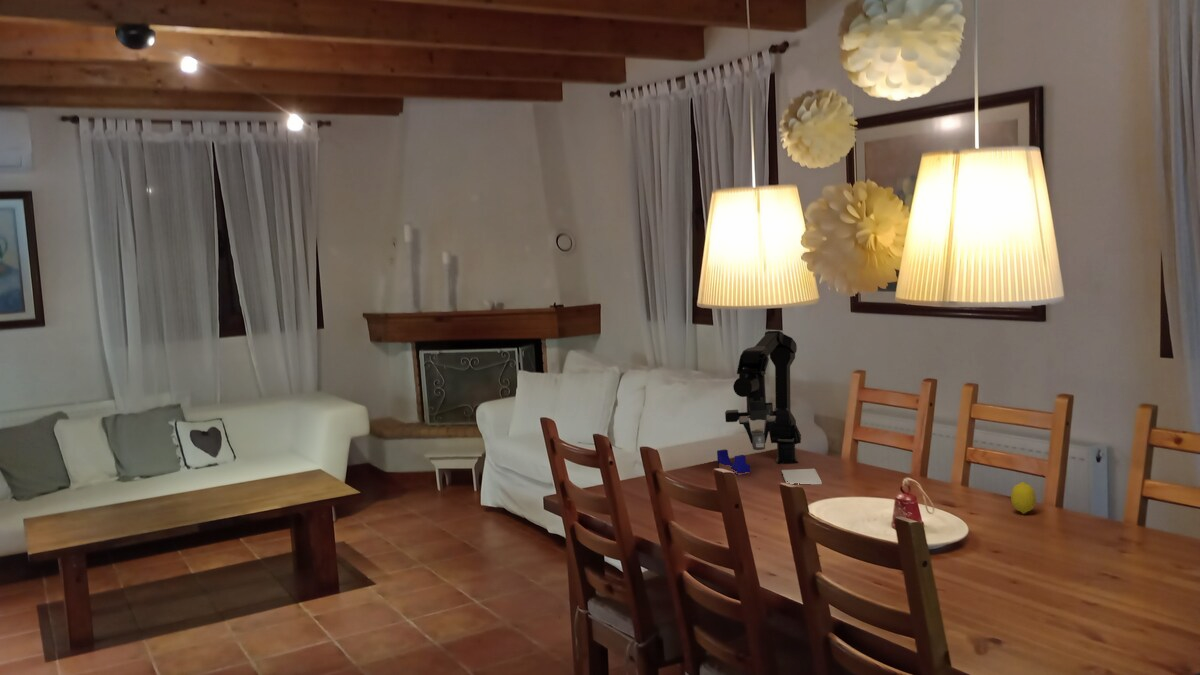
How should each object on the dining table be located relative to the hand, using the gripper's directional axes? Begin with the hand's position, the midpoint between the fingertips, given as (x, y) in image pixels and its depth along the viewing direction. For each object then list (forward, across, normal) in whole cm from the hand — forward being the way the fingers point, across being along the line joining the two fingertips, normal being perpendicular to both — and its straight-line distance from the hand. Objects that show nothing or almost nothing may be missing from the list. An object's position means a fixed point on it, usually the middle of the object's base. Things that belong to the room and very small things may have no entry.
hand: (758, 443), depth 283 cm
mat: (+11, +12, -1) cm, 16 cm away
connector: (+1, 0, -1) cm, 2 cm away
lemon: (+11, +61, -46) cm, 77 cm away
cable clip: (+11, -7, +12) cm, 18 cm away
